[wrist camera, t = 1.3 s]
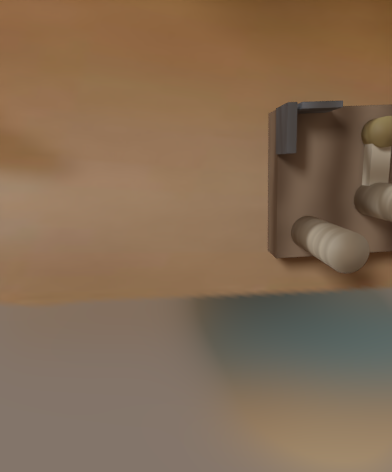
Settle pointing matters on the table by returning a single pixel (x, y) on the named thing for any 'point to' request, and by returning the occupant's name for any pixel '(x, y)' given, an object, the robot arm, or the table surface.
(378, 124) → the hinged leg
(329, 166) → the peg board
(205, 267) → the table surface
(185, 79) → the table surface
